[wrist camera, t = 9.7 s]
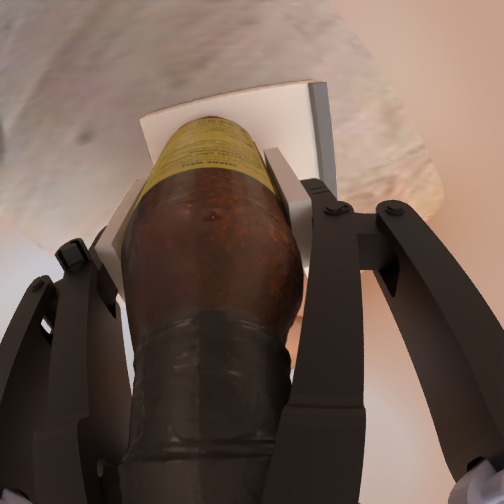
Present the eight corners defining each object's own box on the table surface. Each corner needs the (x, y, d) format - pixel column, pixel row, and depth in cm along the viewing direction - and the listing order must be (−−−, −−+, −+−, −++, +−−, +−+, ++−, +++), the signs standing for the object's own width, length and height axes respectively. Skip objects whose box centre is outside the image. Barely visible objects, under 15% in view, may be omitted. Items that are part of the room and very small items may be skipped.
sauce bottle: (148, 148, 19) (-19, 473, 2) (225, 95, 17) (273, 531, 1) (203, 217, 22) (193, 534, 6) (276, 173, 21) (403, 499, 4)
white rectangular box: (147, 114, 21) (134, 122, 18) (312, 79, 20) (328, 82, 17) (205, 287, 31) (204, 313, 28) (329, 262, 30) (340, 285, 27)
